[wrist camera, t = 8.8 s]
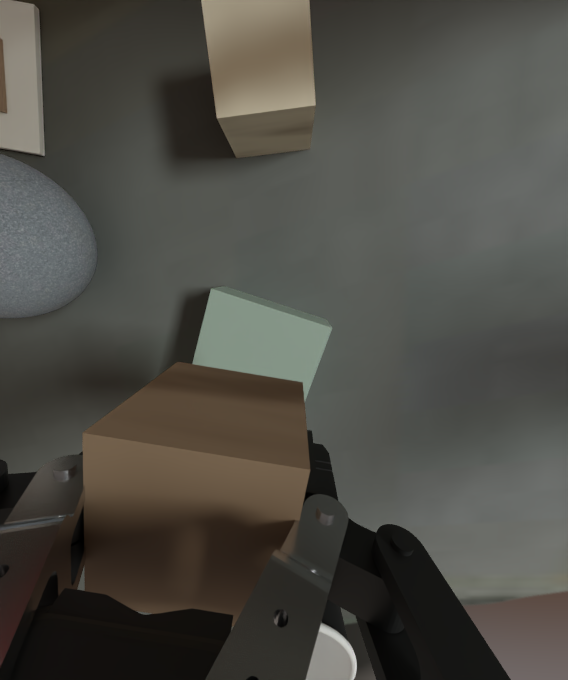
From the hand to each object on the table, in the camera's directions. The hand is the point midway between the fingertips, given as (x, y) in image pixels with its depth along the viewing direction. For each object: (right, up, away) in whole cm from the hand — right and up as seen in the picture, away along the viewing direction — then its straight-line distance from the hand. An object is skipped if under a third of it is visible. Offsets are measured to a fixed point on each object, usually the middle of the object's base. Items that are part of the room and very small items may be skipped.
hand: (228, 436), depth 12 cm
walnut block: (0, 0, +1) cm, 1 cm away
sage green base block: (0, +3, +13) cm, 13 cm away
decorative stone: (-15, +12, +11) cm, 22 cm away
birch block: (+1, +21, +8) cm, 22 cm away
